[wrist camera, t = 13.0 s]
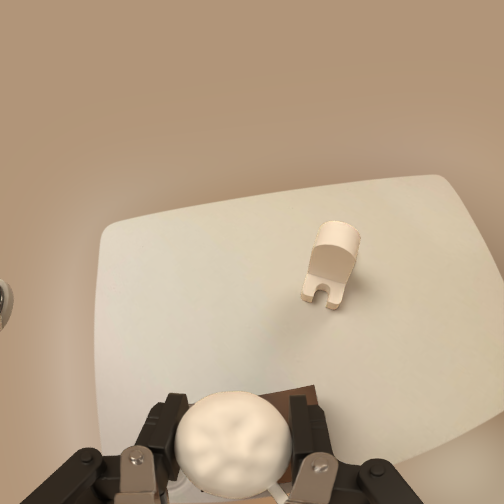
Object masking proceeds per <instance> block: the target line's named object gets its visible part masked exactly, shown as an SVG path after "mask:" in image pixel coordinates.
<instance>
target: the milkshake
mask: <svg viewBox="0 0 504 504" xmlns="http://www.w3.org/2000/svg"><path fill="white" fill-rule="evenodd" d="M174 452H175V457H176V460H177V462H178V465H179V466H180V468H181V470H182V471H183V472H184V474H185V475H186V476H187V477H188V479H189V480H190V481H191V482H192V483H193V484H194V485H195V486H196V487H197V488H199V489H200V490H202V491H204V492H206V493H209V494H212V495H216V496H220V497H224V498H230V499H243V498H248V497H252V496H255V495H257V494H260V493H262V492H264V491H265V490H268V491H269V493H270V494H271V495H272V497H273V498H274V500H275V501H276V503H277V504H284V502H285V501H286V500H288V498H289V497H288V495H287V494H286V493H285V492H284V490H283V489H282V488H281V487H280V485H279V484H278V483H277V481H278V480H279V479H280V478H281V477H282V475H283V474H284V473H285V471H286V470H287V468H288V466H289V463H290V460H291V456H292V437H291V432H290V429H289V426H288V424H287V422H286V421H285V419H284V418H283V416H282V415H281V414H280V413H279V411H278V410H277V409H276V408H275V407H274V406H273V405H272V404H270V403H269V402H268V401H266V400H265V399H263V398H261V397H259V396H257V395H254V394H252V393H248V392H242V391H230V392H220V393H215V394H211V395H209V396H207V397H205V398H203V399H201V400H200V401H198V402H197V403H195V404H194V405H193V406H192V407H191V408H190V409H189V410H188V411H187V412H186V413H185V414H184V416H183V417H182V419H181V421H180V423H179V425H178V428H177V431H176V435H175V440H174Z"/></svg>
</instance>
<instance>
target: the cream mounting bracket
mask: <svg viewBox="0 0 504 504" xmlns="http://www.w3.org/2000/svg"><path fill="white" fill-rule="evenodd" d="M360 239H361V237H360V234H359V232H358V231H357V230H356V229H355V228H354V227H352V226H351V225H349V224H347V223H344V222H340V221H329V222H326V223H323V224H322V225H321V226H320V228H319V231H318V234H317V237H316V240H315V243H314V246H313V249H312V253H311V258H310V263H309V268H308V273H307V276H306V279H305V282H304V285H303V288H302V292H301V299H302V300H304V301H307V302H310V303H311V302H312V299H313V296H314V293H315V292H316V291H317V290H324V291H326V292H327V294H328V300H327V304H326V308H329V309H333V310H335V309H337V308H338V306H339V305H340V303H341V300H342V296H343V293H344V289H345V285H346V283H347V281H348V278H349V276H350V274H351V272H352V270H353V267H354V265H355V262H356V257H357V253H358V248H359V244H360Z"/></svg>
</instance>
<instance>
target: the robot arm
mask: <svg viewBox="0 0 504 504" xmlns="http://www.w3.org/2000/svg"><path fill="white" fill-rule="evenodd" d="M3 303H4V291H3V288H2V287H1V286H0V313H1V310H2V308H3ZM188 410H189V405H188V400H187V396H186V394H179V393H169V394H168V397H167V399H166V401H165V403H161V402H158V403H157V404H156V405H155V406H154V407H153V408H151V410H150V412H149V415H148V418H147V419H146V421H145V424H144V425H143V428H142V430H141V432H140V434H139V436H138V439H137V441H136V443H135V445H134V446H131V447H128V448H127V449H125V450H124V451H123V452H122V454H121V455H118V456H102V454H101V453H100V452H99V451H98V450H97V449H94V448H82V449H80V450H78V451H77V452H76V453H75V454H73V456H71V457H70V458H69V459H68V460H67V461H66V462H65V463H64V464H63V465H62V466H61V467H59V468H58V470H56V471H55V472H54V473H53V474H52V475H51V476H50V477H49V478H48V479H46V480H45V481H44V482H43V483H42V484H41V485H40V486H39V487H38V488H37V489H35V490H34V491H33V492H32V493H31V494H30V495H29V496H28V497H27V498H26V499H24V500H23V501H22V502H21V503H20V504H170V503H169V497H168V490H167V488H166V487H167V483H168V480H171V481H177V477H178V473H179V470H180V466H179V465H178V462H177V460H176V457H175V452H174V440H175V435H176V431H177V428H178V425H179V423H180V421H181V419H182V417H183V416H184V414H185V413H186V412H187V411H188ZM288 426H289V429H290V432H291V437H292V456H291V460H290V461H291V477H292V486H293V488H292V491H291V493H290V496H289V498H288V500H286V501H285V502H284V504H423V502H422V501H421V500H420V498H419V497H418V496H417V495H416V494H415V492H414V491H413V490H412V489H411V487H410V486H409V485H408V484H407V482H406V481H405V480H404V479H403V478H402V476H401V475H400V474H399V472H398V471H397V470H396V469H395V467H394V466H393V465H392V464H391V463H390V462H389V461H387V460H384V459H378V458H377V459H370V460H368V461H366V462H364V463H363V464H362V465H361V466H359V465H350V464H345V463H343V462H341V461H339V460H338V459H336V458H335V456H334V455H333V452H332V448H331V443H330V438H329V433H328V428H327V424H326V419H325V414H324V411H323V410H322V409H321V408H320V407H319V405H318V404H317V405H307V399H306V395H305V394H302V395H289V414H288Z"/></svg>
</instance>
